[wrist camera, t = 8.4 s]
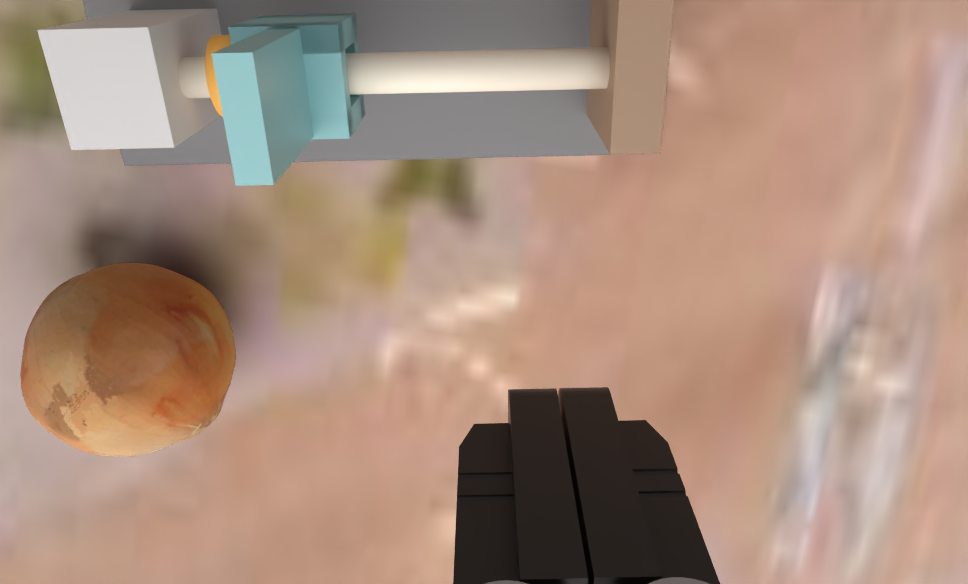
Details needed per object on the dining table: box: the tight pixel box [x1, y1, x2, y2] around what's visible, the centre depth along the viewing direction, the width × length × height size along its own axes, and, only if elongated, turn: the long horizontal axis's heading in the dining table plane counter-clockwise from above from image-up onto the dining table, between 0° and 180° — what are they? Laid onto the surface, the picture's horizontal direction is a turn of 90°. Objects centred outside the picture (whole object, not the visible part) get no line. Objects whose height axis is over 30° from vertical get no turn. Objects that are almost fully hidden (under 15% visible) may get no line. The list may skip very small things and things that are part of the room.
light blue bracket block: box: [211, 13, 365, 186], centre depth 26 cm, size 4×4×10 cm
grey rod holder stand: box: [38, 0, 674, 166], centre depth 30 cm, size 26×10×8 cm, turn 91°
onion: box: [21, 263, 236, 456], centre depth 36 cm, size 10×10×10 cm
